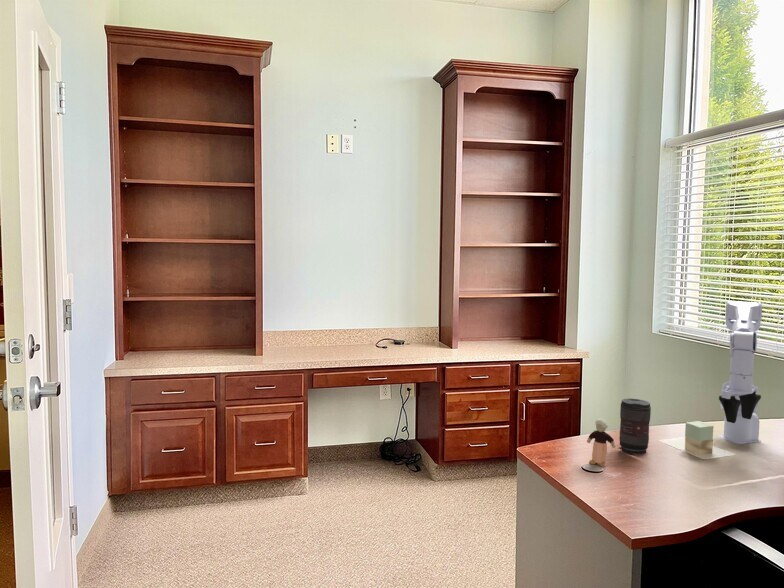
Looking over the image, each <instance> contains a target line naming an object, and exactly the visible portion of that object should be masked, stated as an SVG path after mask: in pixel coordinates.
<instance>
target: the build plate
mask: <svg viewBox="0 0 784 588" xmlns="http://www.w3.org/2000/svg"><path fill="white" fill-rule="evenodd" d="M657 441H658V442H660V443H663V444H665V445H667V446H670V447H672V448H675V449H677V450H679V451H682V452H684V453H687V454H689V455H692V456H693V457H697V458H699V459H700V460H701V459H702V460H703V461H705V460H711V459H716V458H717V459H719V458H724V457H730V456H731V457H732V456H736V453H732V452H729V451H727V450H725V449H722V448H719V447H717V446H714V445H713V449H712V453H711V454H704V455H697V454H695V453H692V452H690V451H687V450H685V436H680V437H672V438H664V439H657Z"/></svg>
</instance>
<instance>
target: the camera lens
mask: <svg viewBox="0 0 784 588" xmlns="http://www.w3.org/2000/svg"><path fill="white" fill-rule="evenodd" d="M619 410H620V412H619V415H620V416H619V418H620V426H619V446H621V447H620V448H621V449H620V450H621V452H622V453H624V454H627V455H630V456H634V455H641V454H646V452H647V449H648V448H649V440H650V421H651V414H652V413H651V411H652V407H651V402H649V401H647V400H644V399H638V398H622V399H621V402H620V409H619Z"/></svg>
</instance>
